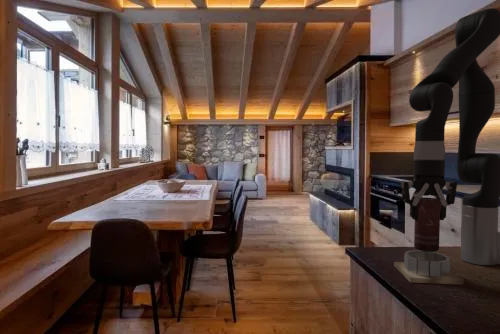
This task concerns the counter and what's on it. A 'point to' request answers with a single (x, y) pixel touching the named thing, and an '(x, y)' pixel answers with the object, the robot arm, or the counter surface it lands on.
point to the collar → (427, 263)
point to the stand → (423, 279)
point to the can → (427, 225)
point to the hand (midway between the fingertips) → (427, 219)
